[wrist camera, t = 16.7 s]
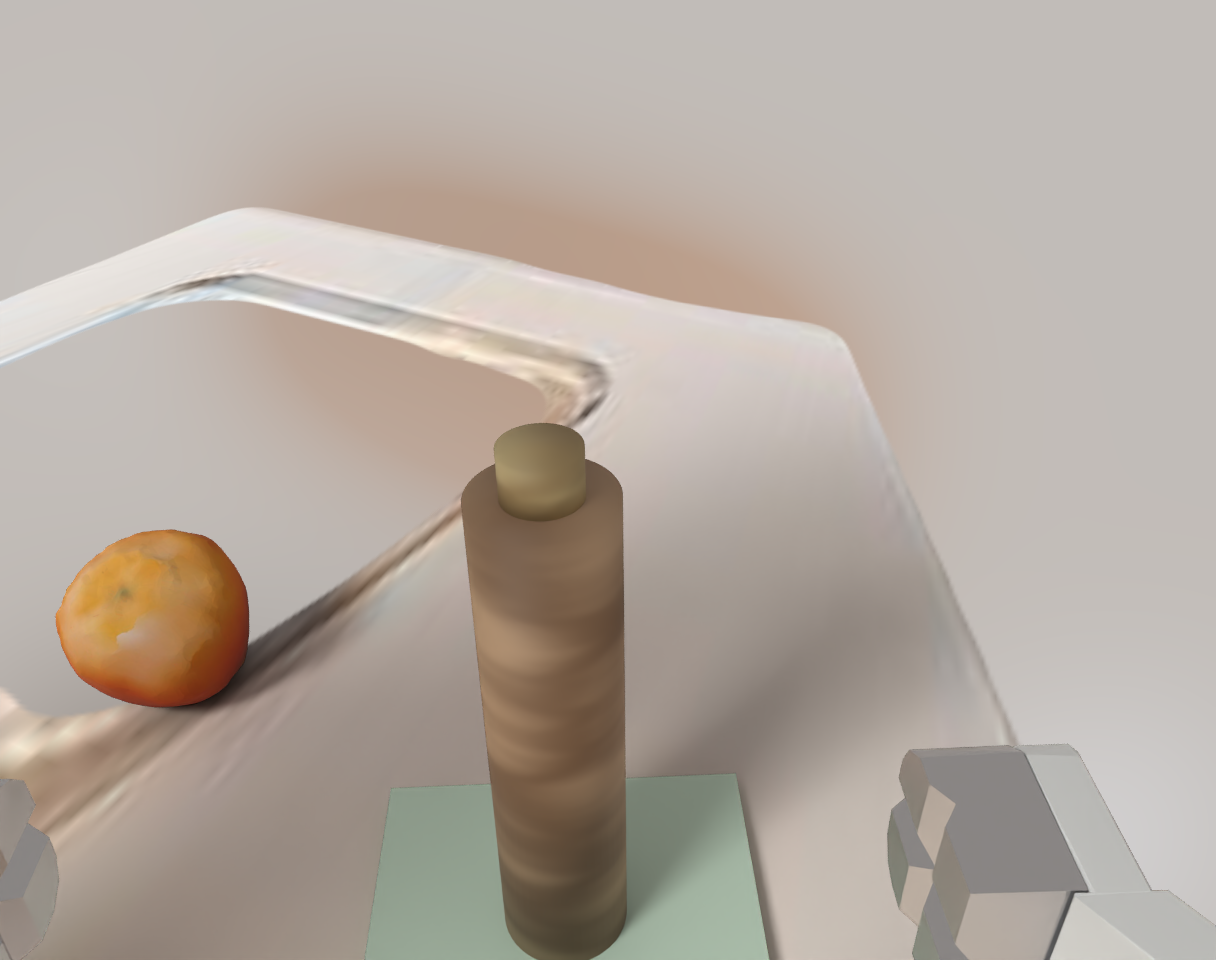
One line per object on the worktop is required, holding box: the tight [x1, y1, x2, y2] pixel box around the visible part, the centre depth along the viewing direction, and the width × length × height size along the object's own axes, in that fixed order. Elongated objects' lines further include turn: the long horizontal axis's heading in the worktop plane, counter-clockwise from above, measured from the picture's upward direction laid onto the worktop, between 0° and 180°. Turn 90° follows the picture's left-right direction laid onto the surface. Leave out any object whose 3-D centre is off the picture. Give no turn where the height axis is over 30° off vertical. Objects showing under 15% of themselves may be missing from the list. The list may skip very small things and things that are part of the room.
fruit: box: [56, 530, 249, 707], centre depth 51 cm, size 8×8×8 cm
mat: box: [364, 773, 769, 960], centre depth 40 cm, size 14×12×1 cm
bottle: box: [461, 423, 627, 960], centre depth 35 cm, size 4×4×20 cm
